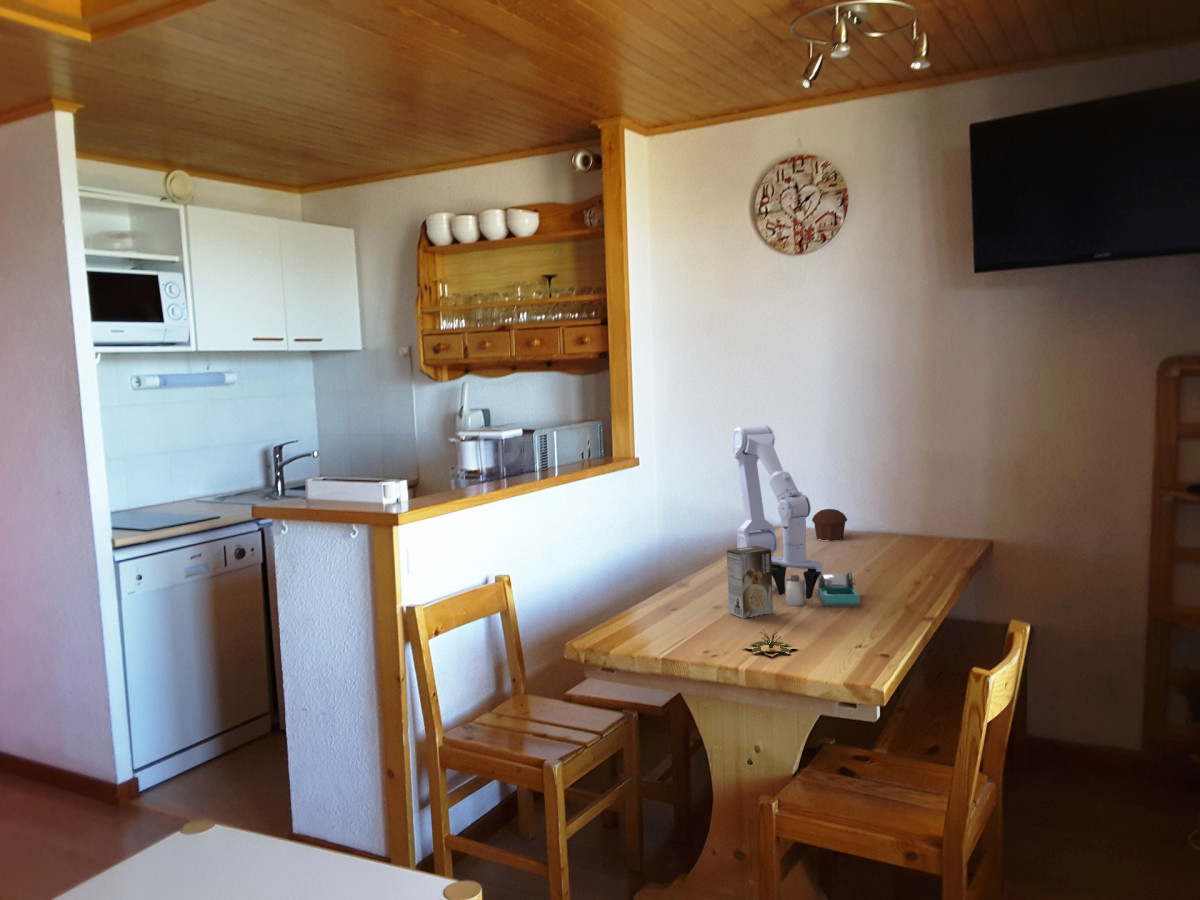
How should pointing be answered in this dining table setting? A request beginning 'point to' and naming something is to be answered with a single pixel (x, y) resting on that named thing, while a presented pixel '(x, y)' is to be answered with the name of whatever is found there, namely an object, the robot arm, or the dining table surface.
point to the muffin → (829, 524)
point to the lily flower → (769, 644)
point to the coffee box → (750, 581)
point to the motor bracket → (837, 590)
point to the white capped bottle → (795, 590)
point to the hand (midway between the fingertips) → (795, 596)
